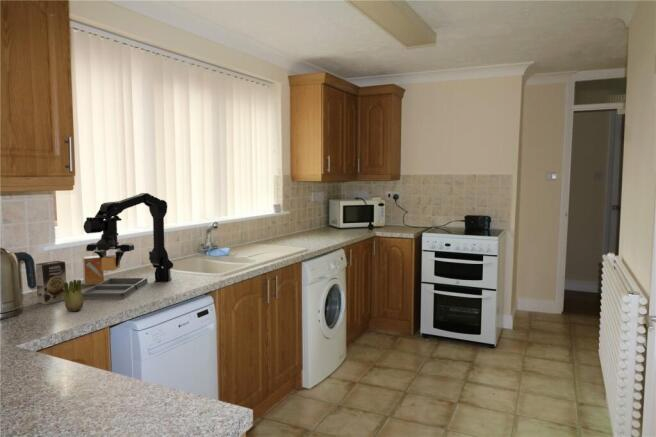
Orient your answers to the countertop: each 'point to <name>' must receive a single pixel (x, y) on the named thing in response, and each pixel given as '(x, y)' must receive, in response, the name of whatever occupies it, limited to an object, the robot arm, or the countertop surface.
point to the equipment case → (125, 281)
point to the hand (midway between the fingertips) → (111, 266)
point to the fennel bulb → (73, 295)
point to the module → (109, 263)
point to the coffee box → (50, 281)
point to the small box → (92, 270)
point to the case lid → (108, 292)
